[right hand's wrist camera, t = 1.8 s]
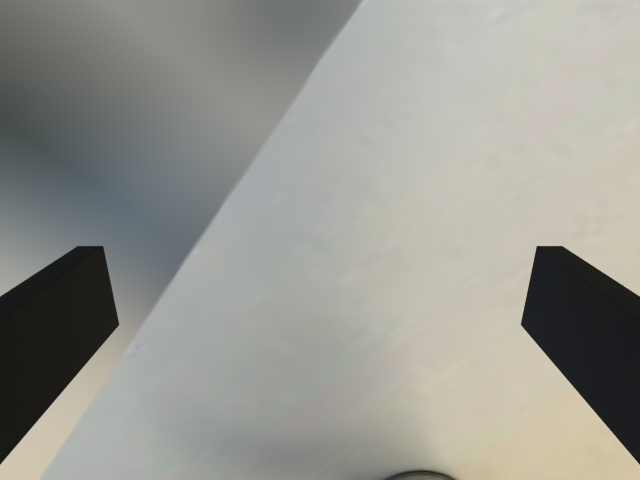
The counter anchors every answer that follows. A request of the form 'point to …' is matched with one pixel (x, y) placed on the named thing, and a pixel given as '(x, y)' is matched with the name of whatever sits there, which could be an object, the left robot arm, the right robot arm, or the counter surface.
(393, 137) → the counter surface
